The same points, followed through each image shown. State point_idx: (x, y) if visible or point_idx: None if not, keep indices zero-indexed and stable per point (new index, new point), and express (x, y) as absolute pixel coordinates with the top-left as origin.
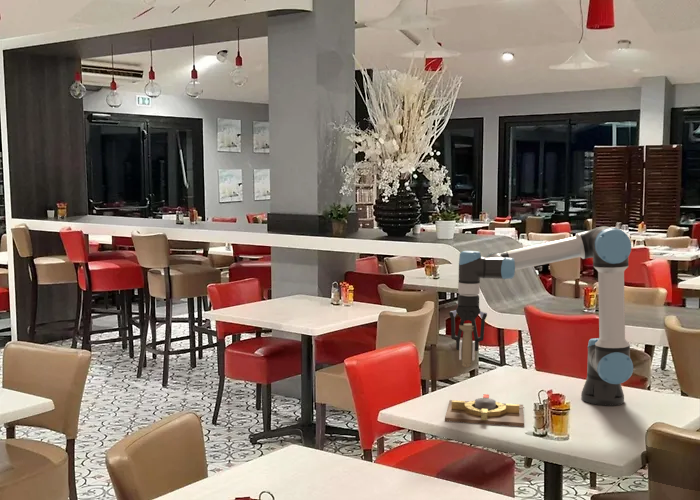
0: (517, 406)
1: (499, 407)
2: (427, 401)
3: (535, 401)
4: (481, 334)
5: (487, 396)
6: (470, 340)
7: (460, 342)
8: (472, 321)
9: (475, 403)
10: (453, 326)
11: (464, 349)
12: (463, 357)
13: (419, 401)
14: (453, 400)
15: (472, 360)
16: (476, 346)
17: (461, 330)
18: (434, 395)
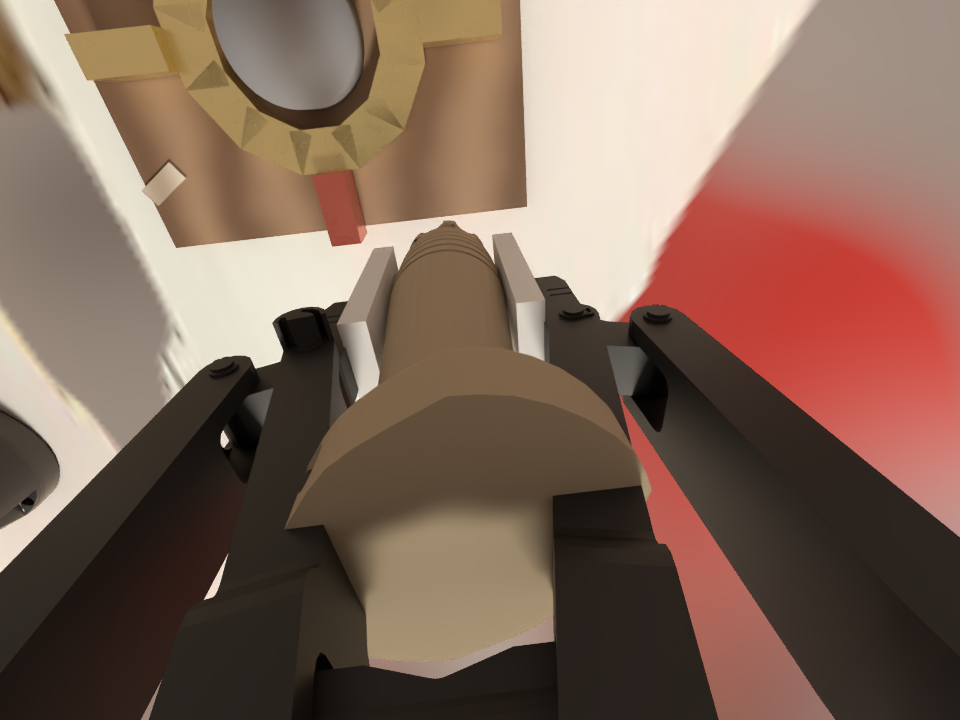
0: (79, 34)
1: (202, 28)
2: (626, 201)
3: (185, 359)
4: (190, 415)
5: (327, 202)
6: (395, 334)
7: (530, 297)
8: (255, 640)
9: (345, 1)
10: (772, 435)
11: (468, 261)
12: (472, 239)
13: (664, 187)
14: (492, 28)
15: (390, 247)
16: (334, 323)
17: None
18: (598, 305)
